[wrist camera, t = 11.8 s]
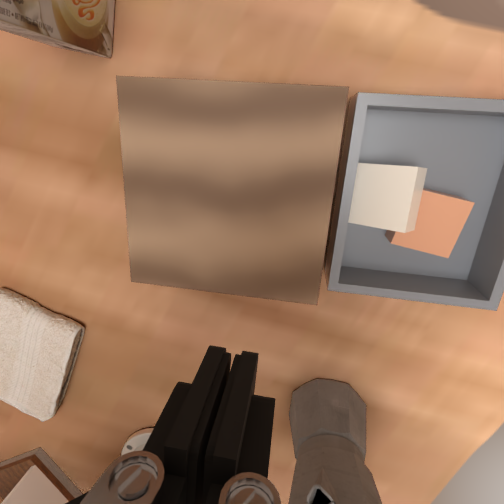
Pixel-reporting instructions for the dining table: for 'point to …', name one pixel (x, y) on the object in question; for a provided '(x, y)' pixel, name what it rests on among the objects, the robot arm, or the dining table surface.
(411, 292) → the box
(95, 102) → the dining table surface
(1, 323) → the washcloth
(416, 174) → the tile
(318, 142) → the block
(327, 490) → the coffeepot
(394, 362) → the dining table surface
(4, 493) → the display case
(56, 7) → the coffee box
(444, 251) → the tile
